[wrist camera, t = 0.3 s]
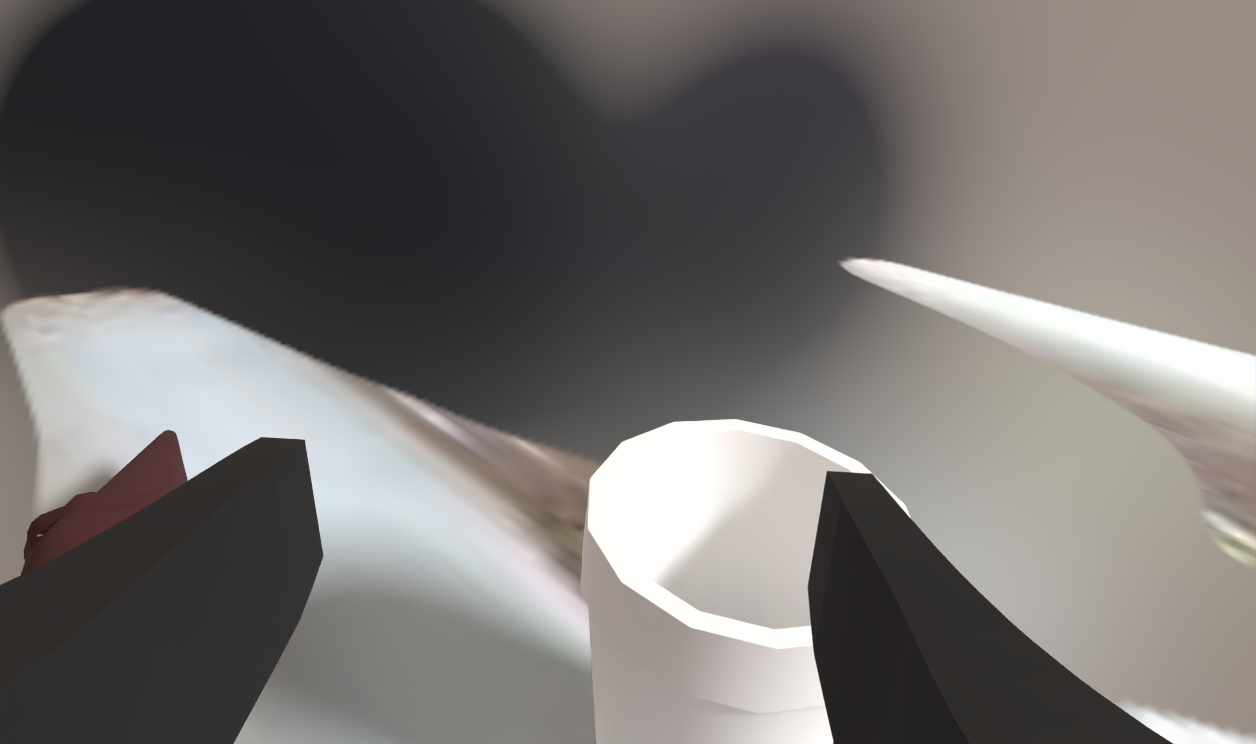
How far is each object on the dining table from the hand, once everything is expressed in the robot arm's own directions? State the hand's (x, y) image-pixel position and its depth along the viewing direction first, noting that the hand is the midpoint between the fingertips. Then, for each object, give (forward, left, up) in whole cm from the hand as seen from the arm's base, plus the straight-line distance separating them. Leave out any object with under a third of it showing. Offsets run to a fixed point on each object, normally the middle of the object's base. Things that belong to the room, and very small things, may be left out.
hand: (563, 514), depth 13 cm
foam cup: (+10, -4, -21) cm, 24 cm away
